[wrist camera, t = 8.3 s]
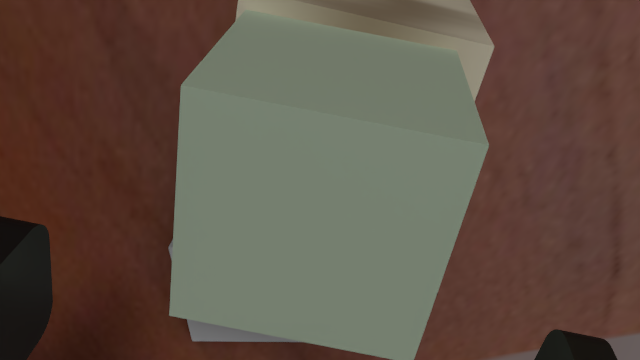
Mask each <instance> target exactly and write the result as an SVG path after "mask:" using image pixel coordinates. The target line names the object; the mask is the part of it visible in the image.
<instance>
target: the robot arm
mask: <svg viewBox="0 0 640 360" xmlns="http://www.w3.org/2000/svg"><path fill="white" fill-rule="evenodd" d="M52 302H53V297H52V279H51V261H50V243H49V233H48V230H47V228H46V227H45V226H44V225H41V224H36V223H31V222H26V221H21V220H16V219H11V218H6V217H1V216H0V360H26V359H27V358H28V356H29V355H30V353H31V352H32V350H33V349H34V348H35V346H36V345H37V343H38V342H39V340H40V339H41V337H42V335H43V333H44V331H45V329H46V327H47V324H48V321H49V318H50V314H51V309H52ZM535 360H617V358H616V356H615V354H614V352H613V349H612V348H611V346H610V344H609V343H608V342H607V341H606V340H604V339H602V338H597V337H592V336H587V335H582V334H577V333H572V332H567V331H562V330H553V331H551V332H550V333H549V334H548V335H547V337H546V339H545V340H544V342H543V344H542V346H541V348H540V350H539V352H538V354H537V356H536V358H535Z"/></svg>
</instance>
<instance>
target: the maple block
mask: <svg viewBox="0 0 640 360" xmlns="http://www.w3.org/2000/svg"><path fill="white" fill-rule="evenodd" d="M245 10H251V11H256V12H261V13H266V14H272V15H277V16H282V17H287V18H292V19H297V20H302V21H308V22H313V23H318V24H323V25H328V26H333V27H338V28H343V29H349V30H354V31H359V32H364V33H369V34H374V35H379V36H385V37H390V38H395V39H400V40H405V41H410V42H415V43H420V44H426V45H431V46H436V47H441V48H446V49H451V50H456V51H457V52H458V55H459V58H460V61H461V64H462V67H463V70H464V73H465V76H466V79H467V82H468V85H469V88H470V91H471V94H472V97H473V100H474V102H475V99H476V96H477V93H478V91H479V88H480V85H481V82H482V80H483V77H484V74H485V71H486V68H487V66H488V63H489V60H490V57H491V55H492V52H493V49H494V45H493V43H492V41H491V39H490V37H489V35H488V34H487V32H486V30H485V28H484V26H483V24H482V22H481V20H480V19H479V17H478V15H477V13H476V11H475V9H474V7H473V5H472V4H471V2H470V0H238V6H237V13H236V20H237V19H238V18H239V17H240V16H241V15H242V13H243V12H244V11H245ZM235 22H236V21H235Z"/></svg>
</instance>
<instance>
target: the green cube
mask: <svg viewBox="0 0 640 360" xmlns="http://www.w3.org/2000/svg"><path fill="white" fill-rule="evenodd" d="M488 147H489V144H488V141H487V138H486V135H485V132H484V129H483V126H482V123H481V120H480V117H479V114H478V111H477V108H476V105H475V102H474V100H473V97H472V94H471V91H470V88H469V85H468V82H467V79H466V76H465V73H464V70H463V67H462V64H461V61H460V58H459V55H458V52H457V51H456V50H451V49H446V48H441V47H436V46H431V45H426V44H420V43H415V42H410V41H405V40H400V39H395V38H390V37H385V36H379V35H374V34H369V33H364V32H359V31H354V30H349V29H343V28H338V27H333V26H328V25H323V24H318V23H313V22H308V21H302V20H297V19H292V18H287V17H282V16H277V15H272V14H266V13H261V12H256V11H251V10H245V11H244V12H243V13H242V15H241V16H240V17H239V18H238V19H237V20H236V22H235V23H234V24H233V25H232V26H231V27H230V29H229V30H228V31H227V32H226V33H225V34H224V36H223V37H222V38H221V39H220V40H219V41H218V42H217V44H216V45H215V46H214V47H213V48H212V49H211V51H210V52H209V53H208V54H207V55H206V56H205V58H204V59H203V60H202V61H201V62H200V63H199V65H198V66H197V67H196V68H195V69H194V70H193V72H192V73H191V74H190V75H189V76H188V77H187V79H186V80H185V81H184V82H183V83H182V84H181V93H180V113H179V133H178V153H177V173H176V192H175V212H174V232H173V252H172V272H171V292H170V312H169V316H174V317H179V318H184V319H189V320H194V321H199V322H204V323H209V324H215V325H220V326H225V327H230V328H235V329H240V330H245V331H250V332H255V333H260V334H265V335H271V336H276V337H281V338H286V339H291V340H296V341H301V342H306V343H311V344H316V345H322V346H327V347H332V348H337V349H342V350H347V351H352V352H357V353H362V354H367V355H372V356H378V357H383V358H388V359H393V360H414V358H415V355H416V352H417V349H418V347H419V344H420V341H421V338H422V335H423V332H424V329H425V327H426V324H427V321H428V318H429V315H430V312H431V309H432V307H433V304H434V301H435V298H436V295H437V292H438V289H439V287H440V284H441V281H442V278H443V275H444V272H445V269H446V267H447V264H448V261H449V258H450V255H451V252H452V249H453V247H454V244H455V241H456V238H457V235H458V232H459V230H460V227H461V224H462V221H463V218H464V215H465V212H466V210H467V207H468V204H469V201H470V198H471V195H472V192H473V190H474V187H475V184H476V181H477V178H478V175H479V172H480V170H481V167H482V164H483V161H484V158H485V155H486V152H487V150H488Z"/></svg>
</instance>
